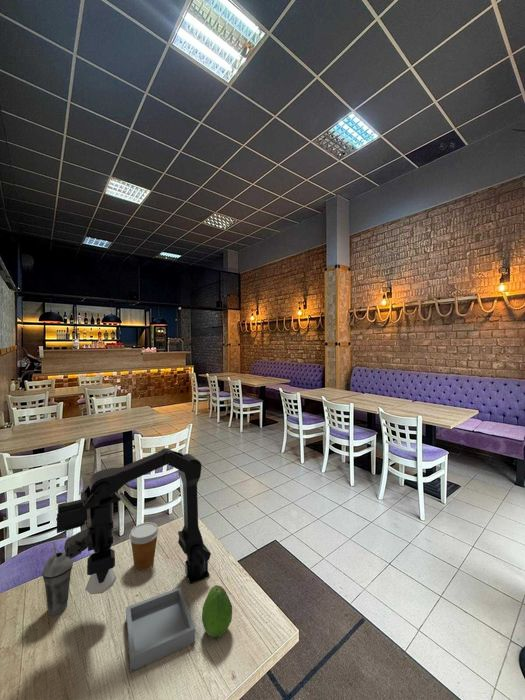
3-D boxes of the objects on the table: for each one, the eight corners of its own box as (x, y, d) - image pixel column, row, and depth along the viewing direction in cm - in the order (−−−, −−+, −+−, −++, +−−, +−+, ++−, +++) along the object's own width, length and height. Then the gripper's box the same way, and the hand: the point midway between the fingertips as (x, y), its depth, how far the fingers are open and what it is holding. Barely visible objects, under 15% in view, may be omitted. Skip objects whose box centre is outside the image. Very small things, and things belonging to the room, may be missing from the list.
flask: (103, 597, 78) (103, 560, 78) (79, 593, 79) (79, 556, 79) (121, 576, 85) (121, 542, 85) (99, 572, 86) (99, 538, 86)
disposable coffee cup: (140, 578, 96) (140, 542, 96) (123, 567, 101) (123, 532, 101) (164, 561, 104) (164, 527, 104) (147, 550, 109) (147, 518, 109)
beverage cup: (78, 603, 87) (78, 535, 86) (52, 624, 80) (52, 551, 80) (63, 594, 90) (63, 528, 90) (36, 613, 83) (36, 543, 83)
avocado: (202, 649, 74) (202, 602, 74) (201, 621, 81) (201, 578, 81) (234, 642, 75) (234, 596, 75) (230, 615, 83) (230, 573, 83)
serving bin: (181, 598, 89) (181, 586, 89) (194, 642, 76) (194, 628, 75) (126, 619, 82) (126, 607, 82) (130, 672, 68) (130, 657, 68)
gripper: (70, 510, 86) (70, 563, 86) (62, 549, 70) (62, 614, 70) (112, 501, 92) (112, 551, 92) (115, 535, 75) (115, 595, 75)
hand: (101, 575), depth 82 cm, fingers closed on flask, 5 cm apart
